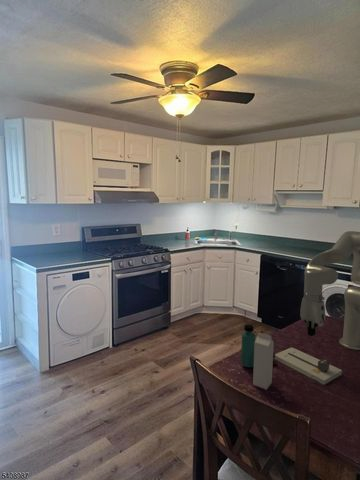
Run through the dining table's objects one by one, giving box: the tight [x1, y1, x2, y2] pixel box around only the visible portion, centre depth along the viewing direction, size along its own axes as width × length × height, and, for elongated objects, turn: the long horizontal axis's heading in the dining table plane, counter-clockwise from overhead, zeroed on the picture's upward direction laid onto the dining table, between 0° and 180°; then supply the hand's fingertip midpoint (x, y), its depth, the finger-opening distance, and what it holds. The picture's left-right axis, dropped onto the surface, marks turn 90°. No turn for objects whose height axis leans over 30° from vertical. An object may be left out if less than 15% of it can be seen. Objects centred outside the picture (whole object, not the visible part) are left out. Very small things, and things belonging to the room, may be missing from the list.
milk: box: [252, 332, 275, 391], centre depth 130 cm, size 6×6×22 cm
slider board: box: [273, 347, 343, 386], centre depth 146 cm, size 14×26×2 cm, turn 35°
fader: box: [318, 358, 330, 372], centre depth 139 cm, size 4×3×4 cm
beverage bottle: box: [240, 323, 257, 368], centre depth 144 cm, size 6×7×20 cm
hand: (311, 334), depth 144 cm, fingers closed
